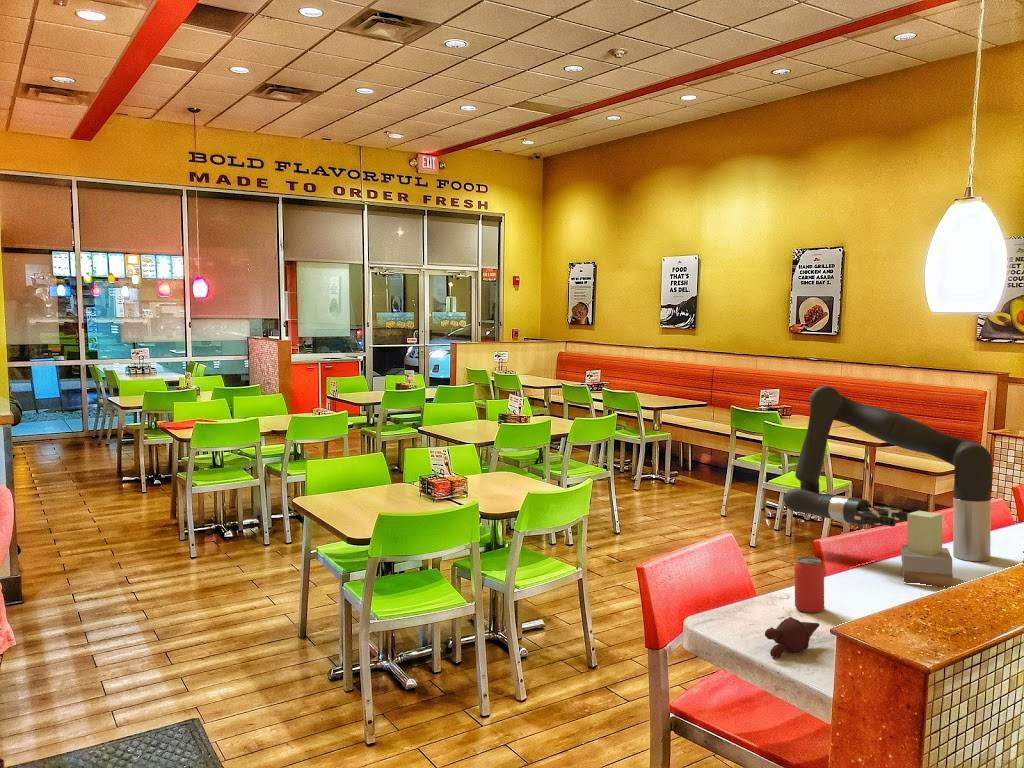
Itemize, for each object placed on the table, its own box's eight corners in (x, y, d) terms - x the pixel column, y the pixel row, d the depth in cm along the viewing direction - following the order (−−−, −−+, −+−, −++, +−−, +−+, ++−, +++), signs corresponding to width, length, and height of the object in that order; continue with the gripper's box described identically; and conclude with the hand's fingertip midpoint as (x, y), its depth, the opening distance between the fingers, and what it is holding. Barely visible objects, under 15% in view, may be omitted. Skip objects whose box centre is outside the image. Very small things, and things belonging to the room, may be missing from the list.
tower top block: (901, 559, 208) (901, 544, 208) (947, 562, 203) (947, 548, 203) (903, 570, 198) (903, 555, 198) (952, 574, 193) (952, 559, 193)
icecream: (801, 606, 166) (751, 626, 159) (827, 608, 159) (777, 629, 152) (809, 639, 165) (759, 660, 158) (837, 641, 158) (786, 664, 151)
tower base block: (902, 573, 208) (902, 559, 208) (948, 577, 203) (948, 563, 203) (904, 585, 198) (904, 570, 198) (952, 590, 193) (952, 574, 193)
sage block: (919, 547, 205) (918, 510, 204) (942, 551, 200) (942, 514, 200) (907, 551, 201) (907, 513, 201) (930, 555, 197) (930, 517, 196)
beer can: (819, 615, 177) (819, 565, 177) (791, 610, 181) (790, 561, 181) (827, 607, 182) (827, 558, 182) (799, 602, 186) (799, 554, 186)
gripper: (834, 500, 215) (888, 510, 201) (864, 494, 222) (918, 503, 209) (834, 526, 215) (888, 538, 202) (864, 519, 223) (918, 529, 209)
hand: (904, 520), depth 205 cm, fingers open, 8 cm apart
